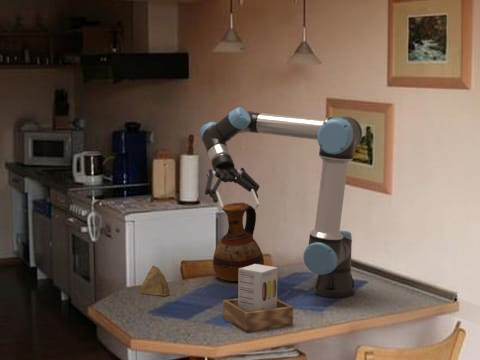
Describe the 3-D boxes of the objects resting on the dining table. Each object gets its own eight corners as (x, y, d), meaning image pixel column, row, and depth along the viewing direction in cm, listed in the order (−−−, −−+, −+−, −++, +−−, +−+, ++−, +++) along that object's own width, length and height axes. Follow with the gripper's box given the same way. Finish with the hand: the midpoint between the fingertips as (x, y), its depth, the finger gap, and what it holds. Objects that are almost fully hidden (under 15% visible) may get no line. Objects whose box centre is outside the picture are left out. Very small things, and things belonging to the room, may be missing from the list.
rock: (177, 288, 293) (166, 279, 301) (165, 272, 288) (154, 263, 297) (154, 309, 290) (144, 298, 298) (142, 293, 286) (131, 283, 294)
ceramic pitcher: (202, 279, 315) (202, 203, 311) (232, 270, 332) (233, 197, 328) (244, 287, 304) (244, 208, 300) (273, 276, 320) (274, 201, 317)
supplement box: (260, 325, 254) (261, 272, 252) (237, 319, 260) (237, 268, 258) (277, 318, 262) (278, 266, 260) (254, 313, 267) (254, 262, 265)
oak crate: (268, 312, 272) (268, 294, 271) (292, 325, 257) (293, 307, 257) (223, 318, 265) (223, 300, 264) (246, 332, 250) (246, 313, 249)
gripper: (249, 165, 298) (268, 211, 286) (185, 168, 287) (202, 216, 275) (255, 152, 292) (275, 198, 281) (191, 154, 281) (209, 203, 270)
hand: (239, 207), depth 278 cm, fingers open, 13 cm apart
